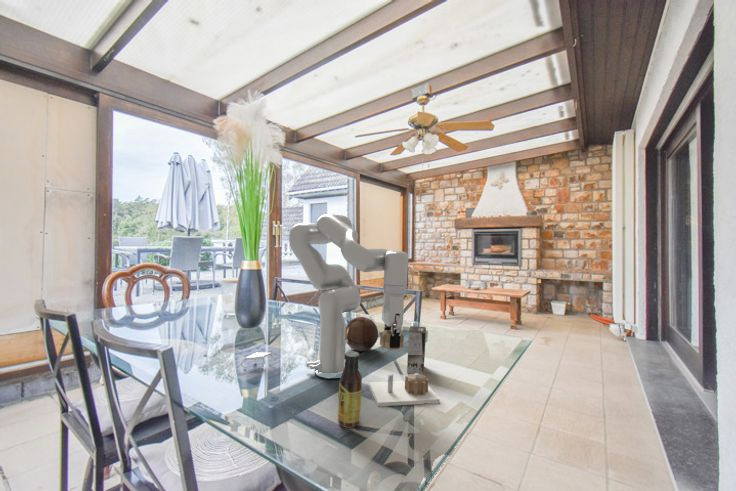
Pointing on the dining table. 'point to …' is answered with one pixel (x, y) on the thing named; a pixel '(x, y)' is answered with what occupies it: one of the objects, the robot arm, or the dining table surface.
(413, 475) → the dining table surface
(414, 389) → the gear board
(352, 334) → the wooden sphere
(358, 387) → the sauce bottle
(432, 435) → the dining table surface
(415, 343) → the coffee box
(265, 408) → the dining table surface
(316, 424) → the dining table surface
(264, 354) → the origami figure
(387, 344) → the beech gear
